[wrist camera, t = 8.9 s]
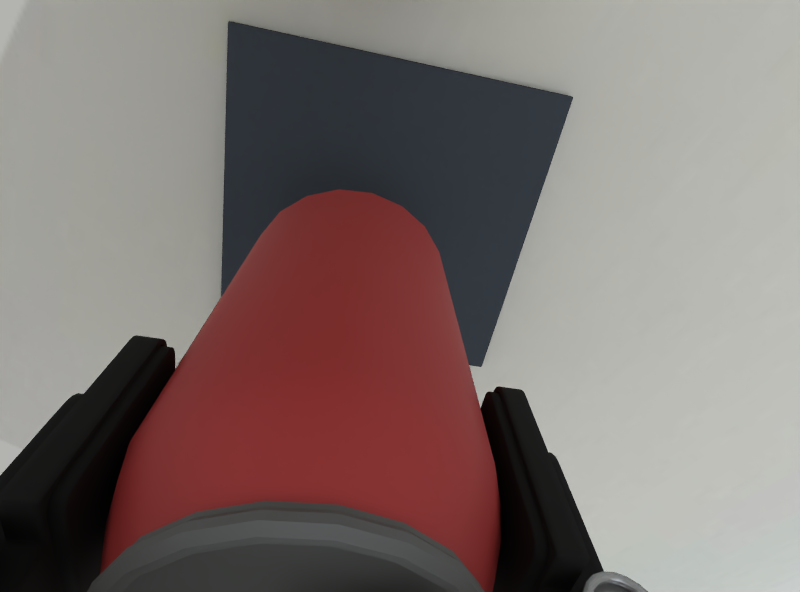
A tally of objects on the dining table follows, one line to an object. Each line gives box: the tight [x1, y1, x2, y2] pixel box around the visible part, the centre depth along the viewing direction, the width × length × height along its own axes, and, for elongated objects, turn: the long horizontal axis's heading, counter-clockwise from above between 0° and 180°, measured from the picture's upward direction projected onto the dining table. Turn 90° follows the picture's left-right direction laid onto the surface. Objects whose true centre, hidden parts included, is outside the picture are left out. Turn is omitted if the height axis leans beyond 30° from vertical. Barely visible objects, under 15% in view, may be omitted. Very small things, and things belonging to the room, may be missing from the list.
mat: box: [221, 21, 573, 367], centre depth 22 cm, size 14×14×1 cm
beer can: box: [87, 189, 501, 592], centre depth 12 cm, size 7×7×12 cm
